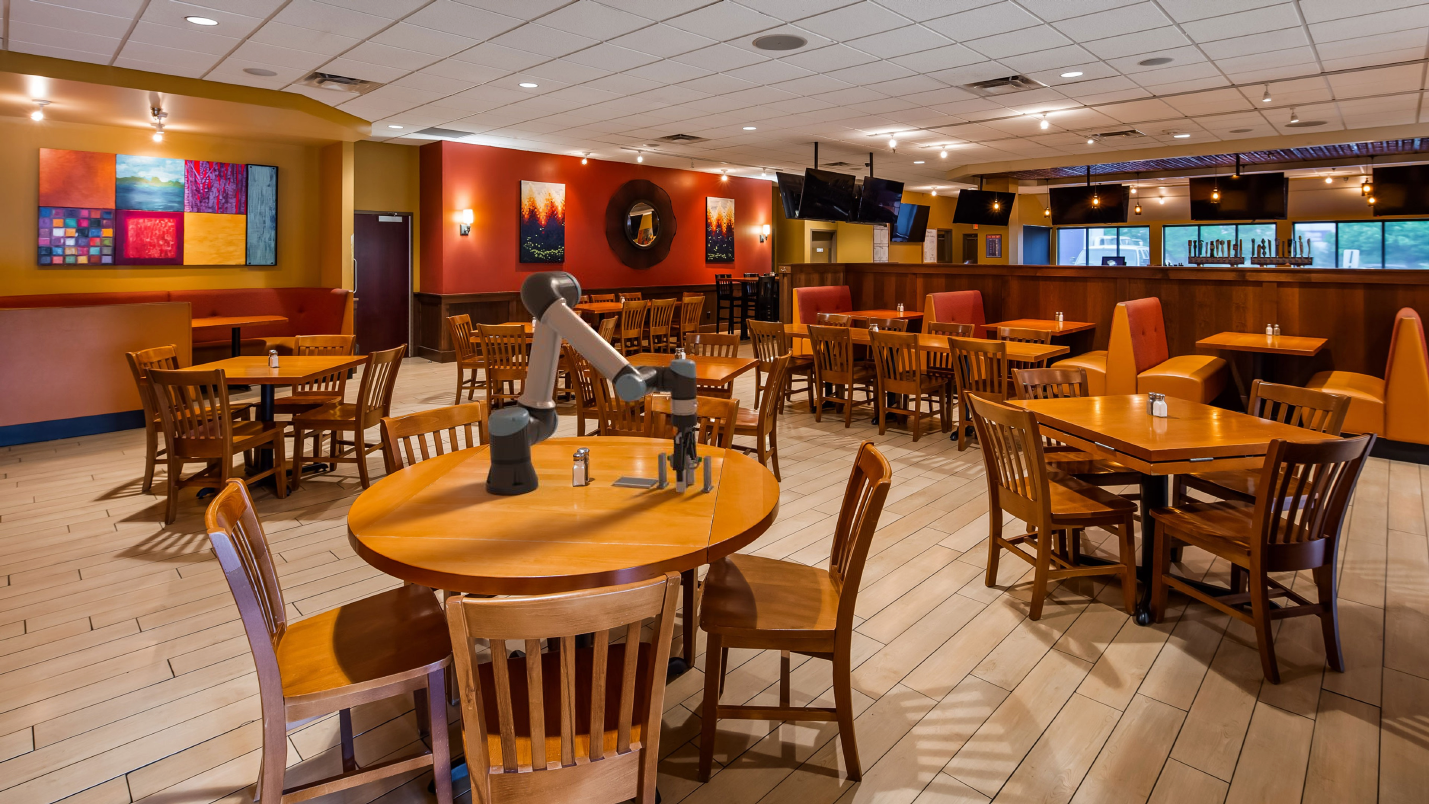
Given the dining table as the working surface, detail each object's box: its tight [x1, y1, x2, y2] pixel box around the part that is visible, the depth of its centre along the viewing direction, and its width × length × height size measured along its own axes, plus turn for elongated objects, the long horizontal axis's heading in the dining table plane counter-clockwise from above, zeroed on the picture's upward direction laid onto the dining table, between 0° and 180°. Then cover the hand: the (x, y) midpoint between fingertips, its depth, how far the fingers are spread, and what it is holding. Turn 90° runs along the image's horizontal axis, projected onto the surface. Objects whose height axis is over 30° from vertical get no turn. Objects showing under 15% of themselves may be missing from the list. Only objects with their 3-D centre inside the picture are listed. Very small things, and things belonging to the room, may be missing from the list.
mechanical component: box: [666, 453, 703, 490], centre depth 230 cm, size 3×10×10 cm, turn 78°
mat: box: [612, 475, 659, 489], centre depth 236 cm, size 12×8×1 cm, turn 74°
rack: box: [655, 452, 715, 493], centre depth 230 cm, size 16×5×10 cm, turn 74°
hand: (685, 487), depth 231 cm, fingers open, 8 cm apart
